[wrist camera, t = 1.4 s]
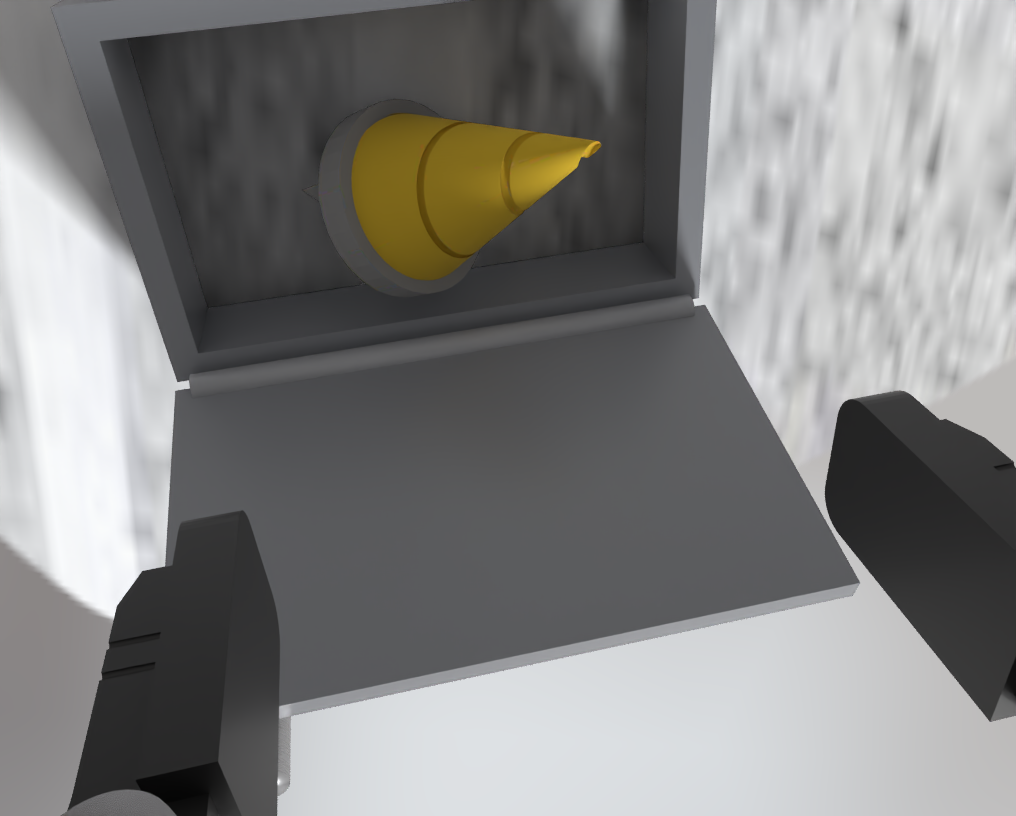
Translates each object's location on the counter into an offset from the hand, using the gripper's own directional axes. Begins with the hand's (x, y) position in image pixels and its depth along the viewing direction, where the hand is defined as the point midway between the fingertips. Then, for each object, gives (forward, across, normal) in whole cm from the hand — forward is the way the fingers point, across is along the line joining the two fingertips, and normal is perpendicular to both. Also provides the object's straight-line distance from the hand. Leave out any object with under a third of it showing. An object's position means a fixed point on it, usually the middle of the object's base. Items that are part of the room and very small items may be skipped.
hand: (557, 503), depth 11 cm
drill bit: (+17, 0, 0) cm, 17 cm away
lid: (+9, 0, +6) cm, 11 cm away
